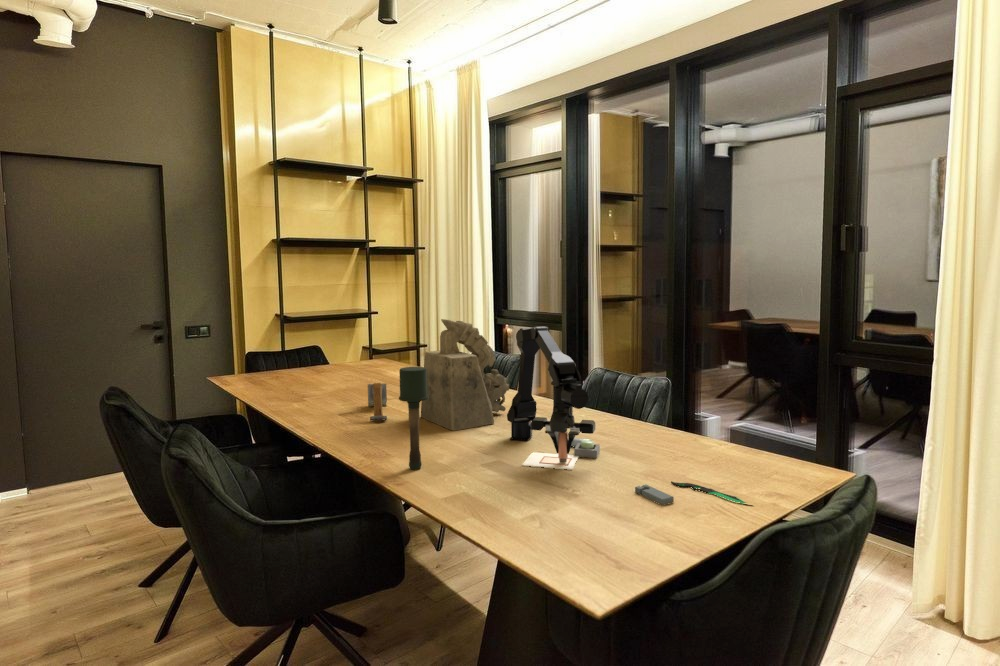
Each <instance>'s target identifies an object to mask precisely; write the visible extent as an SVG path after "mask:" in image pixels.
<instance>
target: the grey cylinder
mask: <svg viewBox="0 0 1000 666" xmlns="http://www.w3.org/2000/svg"><path fill="white" fill-rule="evenodd" d="M584 440H589V441H593V439H587V438H585V439H584V438H574V440H573V443H572V446H574V447H573V448H575V447H576V445H577V444H578V443H581V441H584ZM593 442H594V441H593Z"/></svg>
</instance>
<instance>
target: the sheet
mask: <svg viewBox="0 0 1000 666" xmlns="http://www.w3.org/2000/svg"><path fill="white" fill-rule="evenodd" d="M579 458H580V457H579V456H574V455H573V454H568V458H567V462H559V458H558V453H545V452H531V453H530V455H528V457H527V458H526V459H525V461H524V462H523V463H522V464H521V465H522V467H529V466H531V468H532V467H533V468H541V467H544V469H545V468H546V469H553V468H555V470H564V469H567V470H566V471H568V470H569V471H573V469H574V467H575V465H576V464H577V462H576V461H578V460H579ZM575 463H576V464H575Z"/></svg>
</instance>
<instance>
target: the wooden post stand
mask: <svg viewBox="0 0 1000 666" xmlns="http://www.w3.org/2000/svg"><path fill="white" fill-rule="evenodd" d="M387 391H388V390H387V383H380V382H377V383H368V384H367V406H368V408H370V407H371V408H372V407H373V406H374V407H373V415H372V416H369V421H371V420H374V421H383V420H382V419H385V420H384V421H386V420H387V421H388V416H387V415H383V407H387V402H388V398H387V397H388V396H387V393H388V392H387Z"/></svg>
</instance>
